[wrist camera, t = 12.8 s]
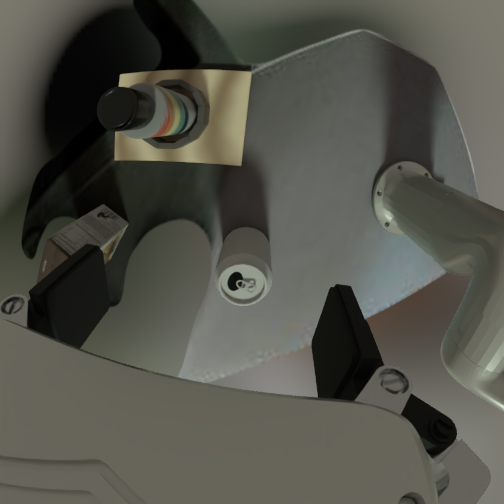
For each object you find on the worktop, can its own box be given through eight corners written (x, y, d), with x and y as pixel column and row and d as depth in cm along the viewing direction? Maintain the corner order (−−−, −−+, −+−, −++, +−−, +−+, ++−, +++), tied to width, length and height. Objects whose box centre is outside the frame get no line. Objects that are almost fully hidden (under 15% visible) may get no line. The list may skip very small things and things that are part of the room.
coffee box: (111, 260, 47) (66, 311, 33) (85, 241, 46) (34, 285, 31) (130, 222, 44) (80, 268, 29) (102, 202, 42) (45, 238, 28)
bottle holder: (251, 73, 34) (250, 65, 29) (241, 164, 40) (239, 170, 35) (123, 75, 33) (108, 70, 29) (118, 159, 39) (102, 164, 35)
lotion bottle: (155, 121, 36) (75, 124, 18) (177, 89, 34) (108, 64, 16) (184, 141, 37) (121, 156, 19) (208, 109, 35) (160, 94, 17)
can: (231, 218, 43) (221, 251, 33) (276, 233, 44) (282, 270, 33) (218, 259, 46) (206, 301, 36) (260, 272, 47) (261, 317, 36)
